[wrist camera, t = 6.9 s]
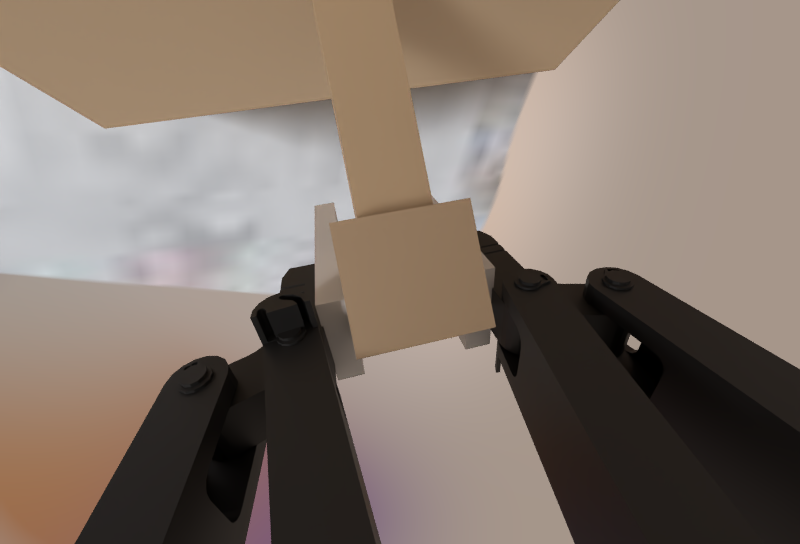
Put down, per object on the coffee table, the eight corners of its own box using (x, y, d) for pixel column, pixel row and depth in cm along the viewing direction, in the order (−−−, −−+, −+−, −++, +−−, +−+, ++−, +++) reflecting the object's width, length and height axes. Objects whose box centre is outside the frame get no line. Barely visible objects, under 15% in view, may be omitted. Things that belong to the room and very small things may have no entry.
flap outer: (102, 118, 13) (153, 362, 13) (-246, -101, 5) (-126, 474, 5) (552, 61, 15) (593, 266, 15) (736, -144, 8) (814, 254, 8)
